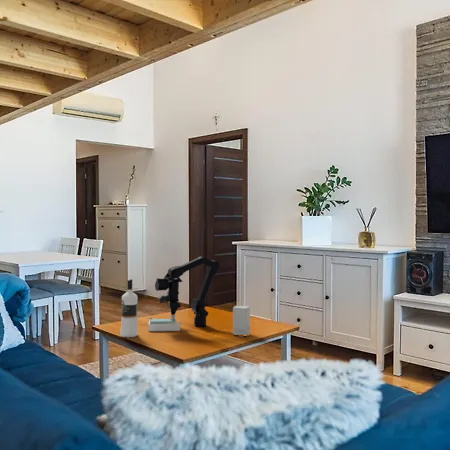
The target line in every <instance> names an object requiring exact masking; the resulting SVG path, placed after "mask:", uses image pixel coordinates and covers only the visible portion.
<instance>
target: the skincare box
mask: <svg viewBox="0 0 450 450" xmlns="http://www.w3.org/2000/svg"><path fill="white" fill-rule="evenodd" d="M249 333H250V334H251V306H249V305H234V306H233V307H232V335H233V334H236V335H248V334H249ZM248 336H249V335H248Z"/></svg>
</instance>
